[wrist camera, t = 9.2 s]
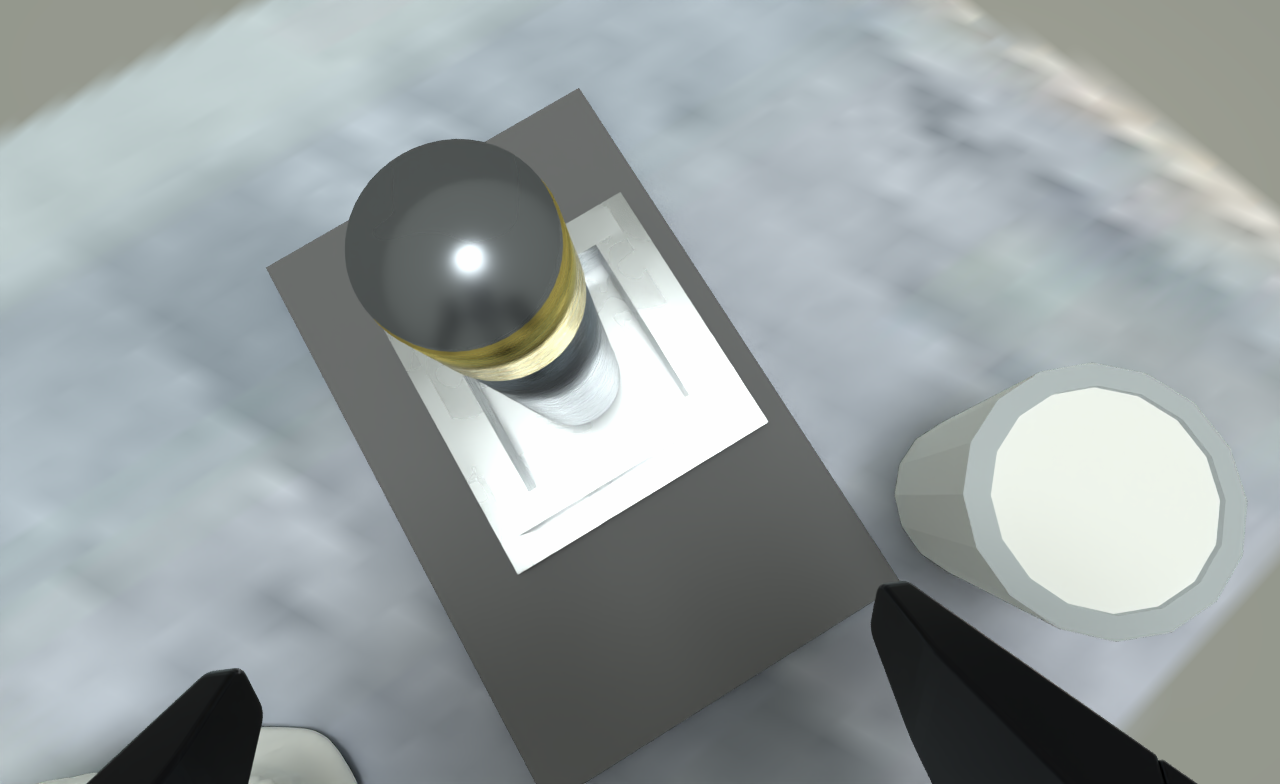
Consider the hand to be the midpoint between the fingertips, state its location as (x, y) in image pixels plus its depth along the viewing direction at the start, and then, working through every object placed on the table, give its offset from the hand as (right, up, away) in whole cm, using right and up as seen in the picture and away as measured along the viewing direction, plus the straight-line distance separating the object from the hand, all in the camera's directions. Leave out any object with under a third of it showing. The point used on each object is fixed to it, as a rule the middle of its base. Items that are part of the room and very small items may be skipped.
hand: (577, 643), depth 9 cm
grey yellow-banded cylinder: (-2, +4, +14) cm, 14 cm away
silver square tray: (-1, +4, +15) cm, 15 cm away
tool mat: (-2, +3, +15) cm, 15 cm away
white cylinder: (+13, 0, +14) cm, 19 cm away
